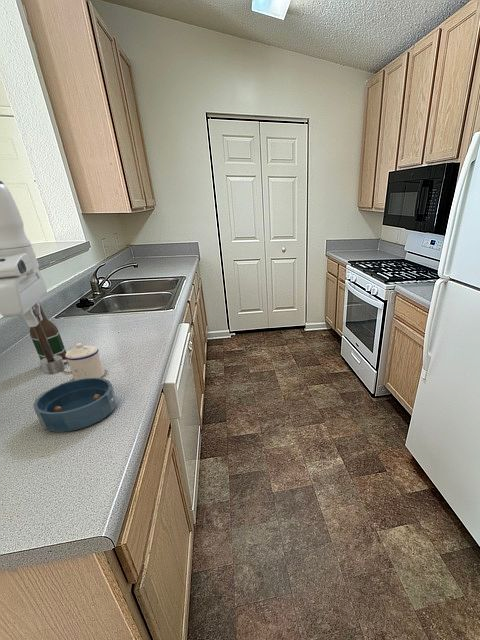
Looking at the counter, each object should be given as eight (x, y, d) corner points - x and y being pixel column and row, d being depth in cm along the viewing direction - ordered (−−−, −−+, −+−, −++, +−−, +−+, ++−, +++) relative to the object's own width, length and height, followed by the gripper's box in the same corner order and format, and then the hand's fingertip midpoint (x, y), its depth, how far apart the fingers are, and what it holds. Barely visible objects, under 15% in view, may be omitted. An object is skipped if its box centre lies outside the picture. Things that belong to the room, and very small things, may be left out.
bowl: (34, 441, 80) (24, 421, 77) (51, 403, 94) (43, 385, 92) (114, 422, 86) (108, 403, 83) (119, 389, 100) (113, 372, 98)
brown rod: (42, 376, 78) (10, 301, 70) (46, 368, 82) (16, 295, 74) (63, 372, 80) (34, 298, 72) (67, 364, 84) (40, 293, 75)
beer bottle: (67, 356, 122) (43, 292, 111) (71, 363, 117) (47, 297, 106) (41, 363, 117) (14, 297, 107) (45, 371, 112) (16, 302, 102)
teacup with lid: (105, 367, 114) (95, 336, 109) (106, 378, 107) (95, 345, 101) (64, 376, 109) (51, 344, 103) (62, 388, 102) (48, 354, 96)
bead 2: (94, 402, 93) (92, 396, 92) (95, 399, 95) (93, 393, 94) (102, 401, 94) (100, 395, 93) (102, 397, 96) (101, 391, 95)
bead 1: (54, 415, 88) (51, 409, 87) (55, 411, 90) (53, 405, 89) (62, 413, 89) (60, 407, 88) (64, 410, 90) (61, 403, 90)
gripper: (9, 255, 77) (32, 312, 83) (-30, 272, 60) (3, 342, 66) (41, 253, 79) (61, 309, 85) (13, 268, 62) (40, 337, 68)
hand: (36, 323), depth 75 cm, fingers closed on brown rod
